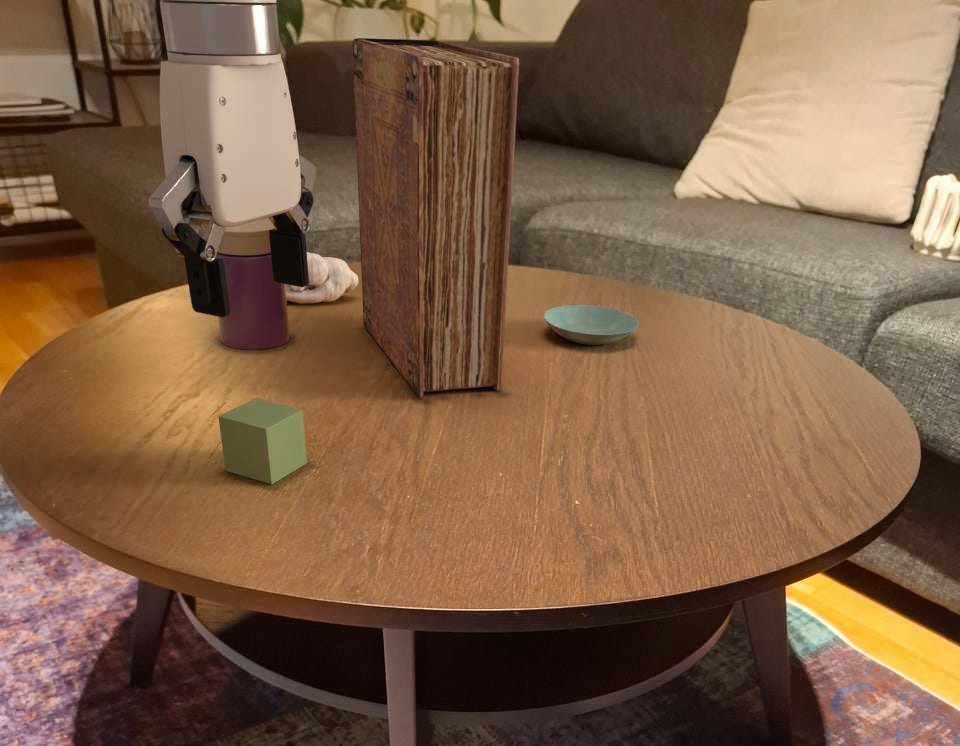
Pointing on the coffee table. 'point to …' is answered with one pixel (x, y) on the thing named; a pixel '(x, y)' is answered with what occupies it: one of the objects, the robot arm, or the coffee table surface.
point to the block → (263, 440)
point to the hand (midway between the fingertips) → (253, 298)
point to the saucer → (590, 323)
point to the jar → (253, 304)
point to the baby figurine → (319, 271)
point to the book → (435, 206)
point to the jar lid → (247, 238)
